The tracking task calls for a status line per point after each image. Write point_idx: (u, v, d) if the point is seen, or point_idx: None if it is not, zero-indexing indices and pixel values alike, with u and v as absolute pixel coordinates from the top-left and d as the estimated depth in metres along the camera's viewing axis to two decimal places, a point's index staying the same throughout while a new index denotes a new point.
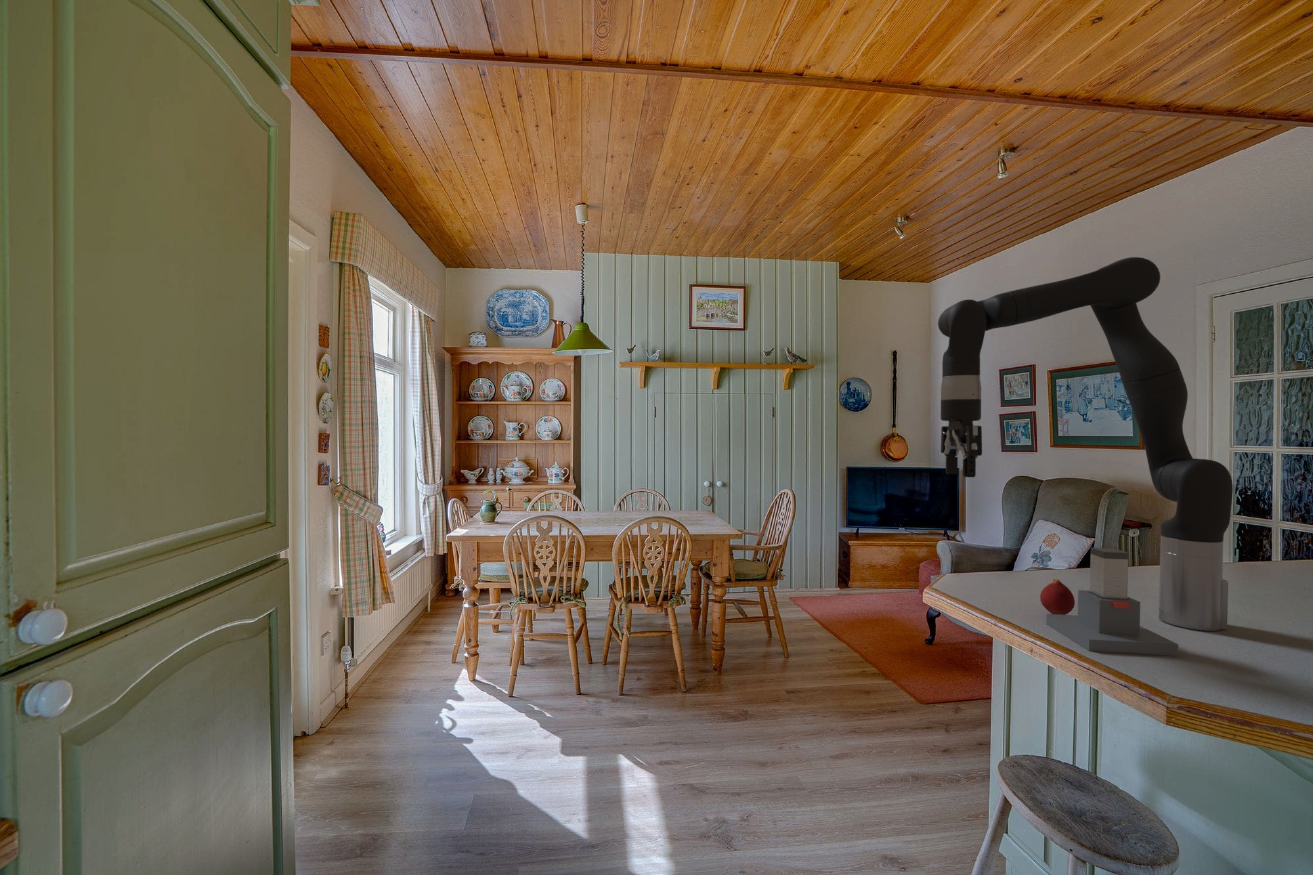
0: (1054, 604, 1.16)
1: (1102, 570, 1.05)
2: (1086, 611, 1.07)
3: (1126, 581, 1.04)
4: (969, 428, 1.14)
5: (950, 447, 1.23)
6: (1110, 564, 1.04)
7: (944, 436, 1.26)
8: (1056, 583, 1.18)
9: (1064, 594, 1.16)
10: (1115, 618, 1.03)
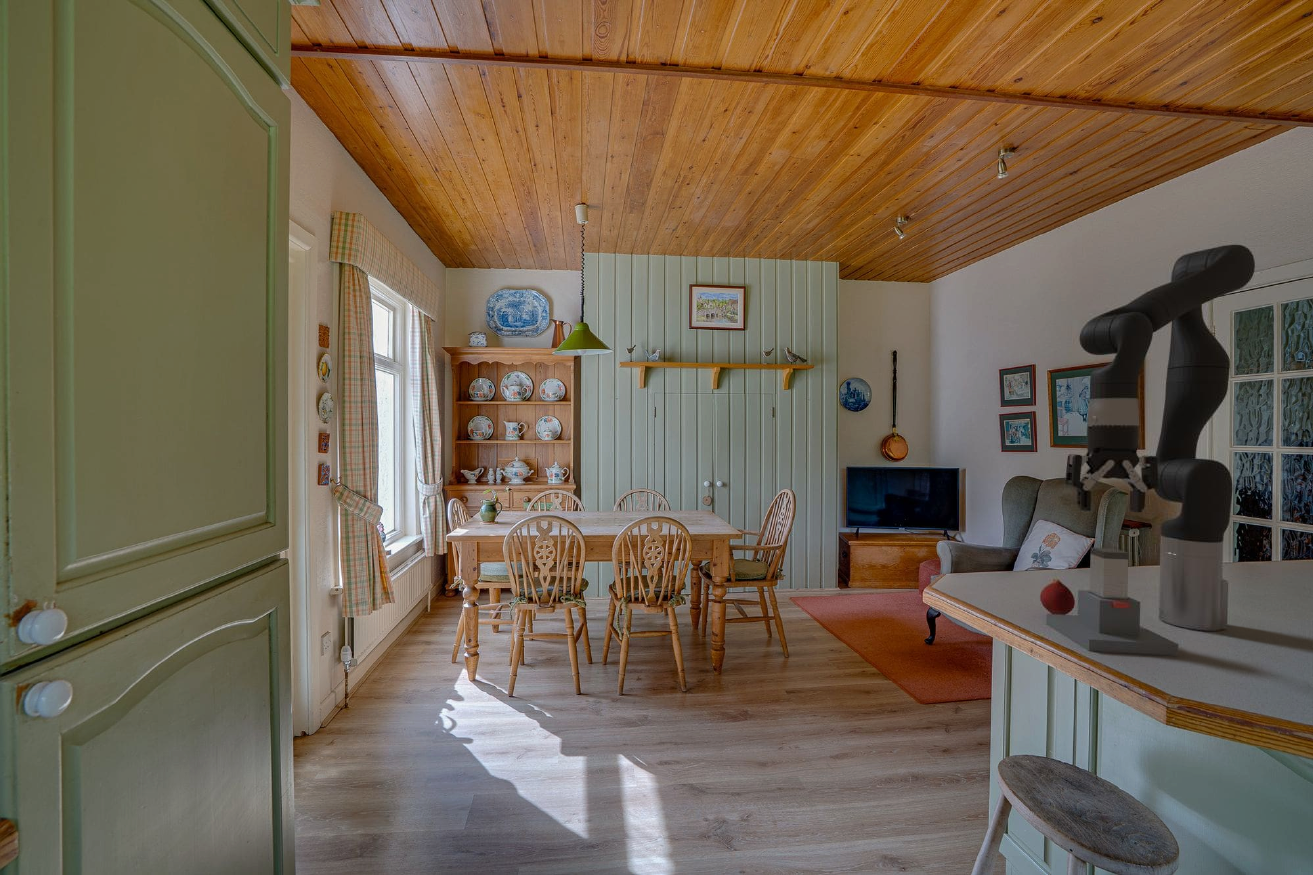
0: (1054, 604, 1.16)
1: (1102, 570, 1.05)
2: (1086, 611, 1.07)
3: (1126, 581, 1.04)
4: (1156, 459, 1.04)
5: None
6: (1110, 564, 1.04)
7: None
8: (1056, 583, 1.18)
9: (1064, 594, 1.16)
10: (1115, 618, 1.03)
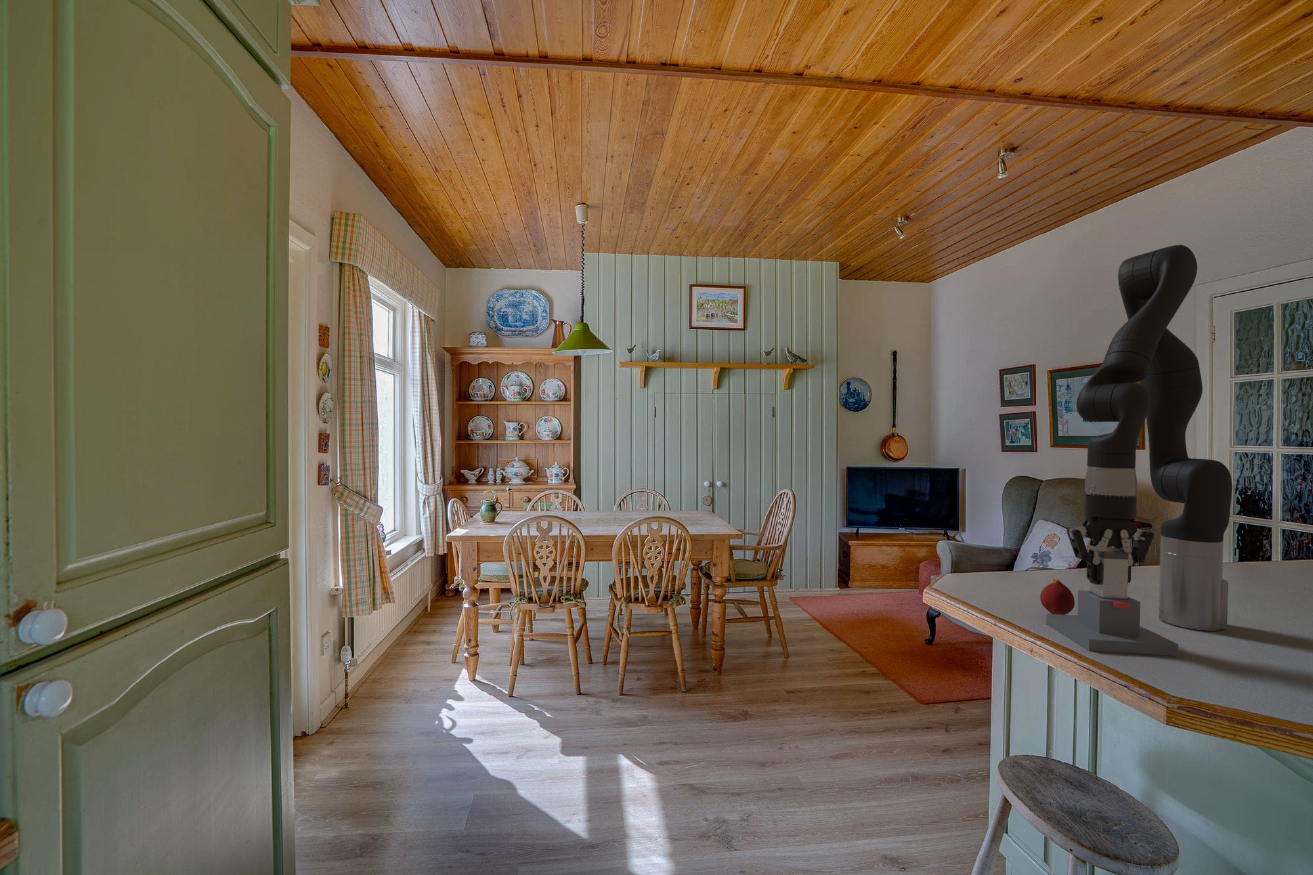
0: (1054, 604, 1.16)
1: (1102, 571, 1.05)
2: (1086, 611, 1.07)
3: (1126, 581, 1.04)
4: (1152, 535, 1.04)
5: None
6: (1110, 564, 1.04)
7: None
8: (1056, 583, 1.18)
9: (1064, 594, 1.16)
10: (1115, 618, 1.03)
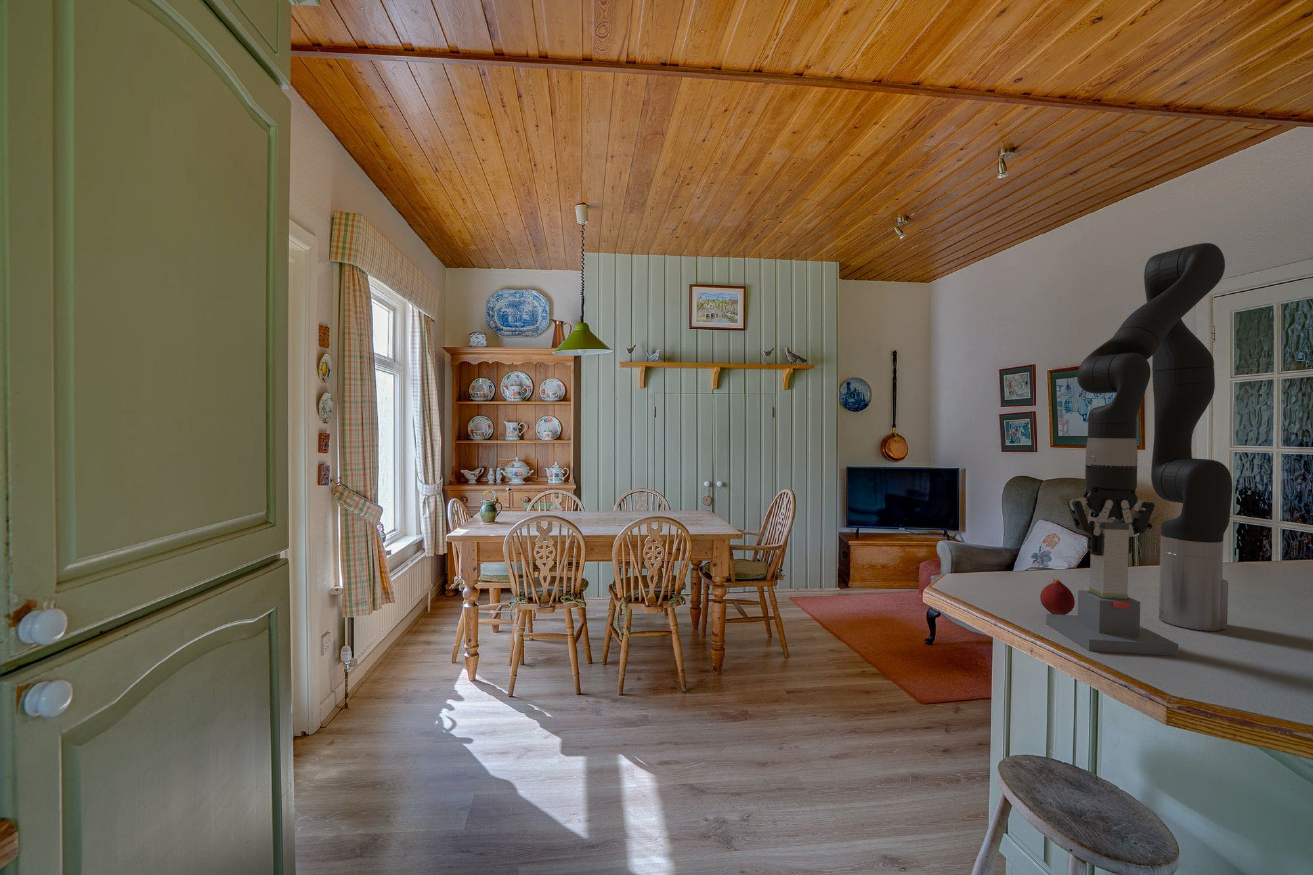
0: (1054, 604, 1.16)
1: (1103, 541, 1.05)
2: (1086, 611, 1.07)
3: (1127, 552, 1.04)
4: (1153, 506, 1.04)
5: None
6: (1110, 535, 1.04)
7: None
8: (1056, 583, 1.18)
9: (1064, 594, 1.16)
10: (1115, 618, 1.03)
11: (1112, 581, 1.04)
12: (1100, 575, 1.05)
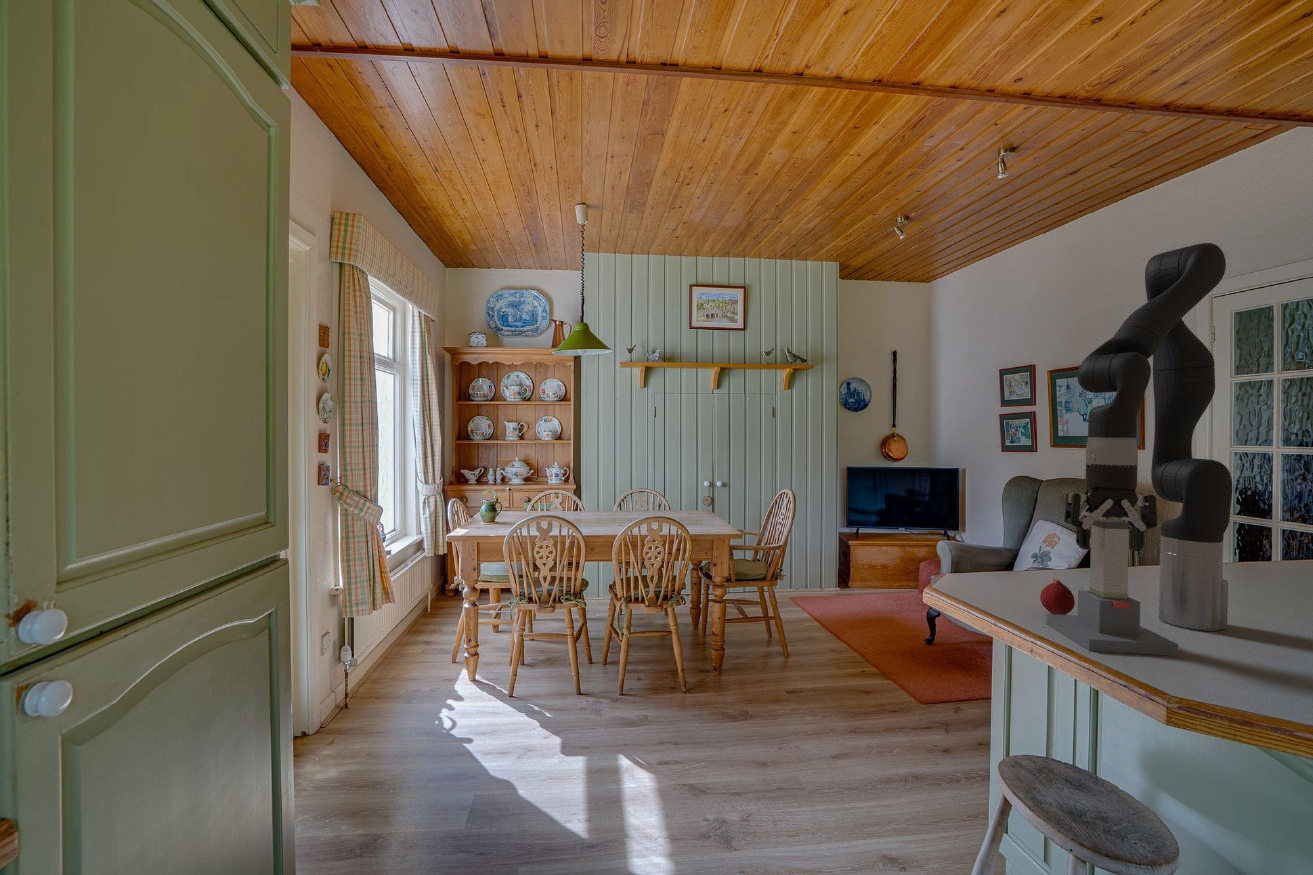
0: (1054, 604, 1.16)
1: (1103, 541, 1.05)
2: (1086, 611, 1.07)
3: (1127, 551, 1.04)
4: (1154, 498, 1.04)
5: None
6: (1110, 534, 1.04)
7: None
8: (1056, 583, 1.18)
9: (1064, 594, 1.16)
10: (1115, 618, 1.03)
11: (1112, 581, 1.04)
12: (1100, 575, 1.05)
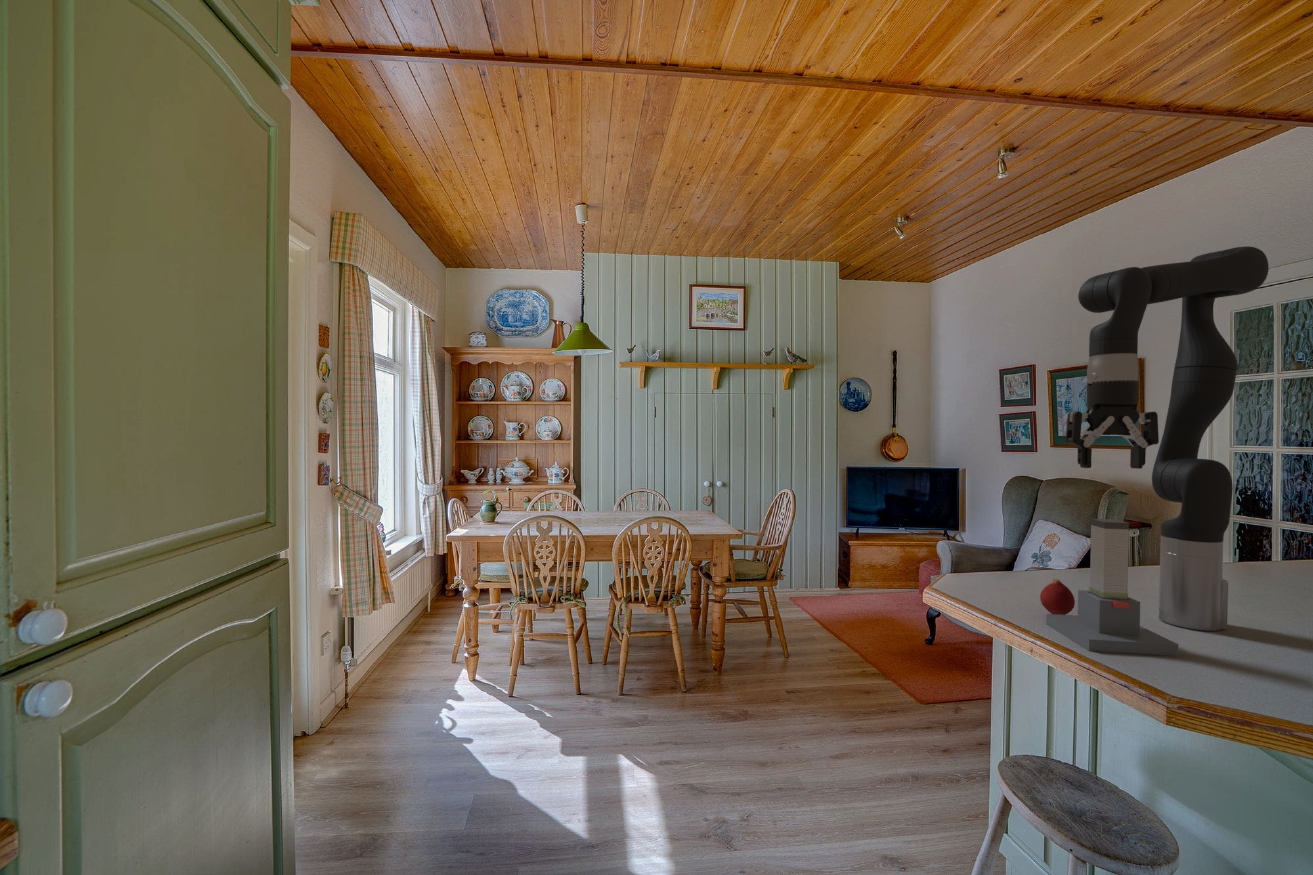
0: (1054, 604, 1.16)
1: (1103, 541, 1.05)
2: (1086, 611, 1.07)
3: (1127, 551, 1.04)
4: (1156, 414, 1.04)
5: None
6: (1110, 534, 1.04)
7: None
8: (1056, 583, 1.18)
9: (1064, 594, 1.16)
10: (1115, 618, 1.03)
11: (1112, 581, 1.04)
12: (1100, 575, 1.05)
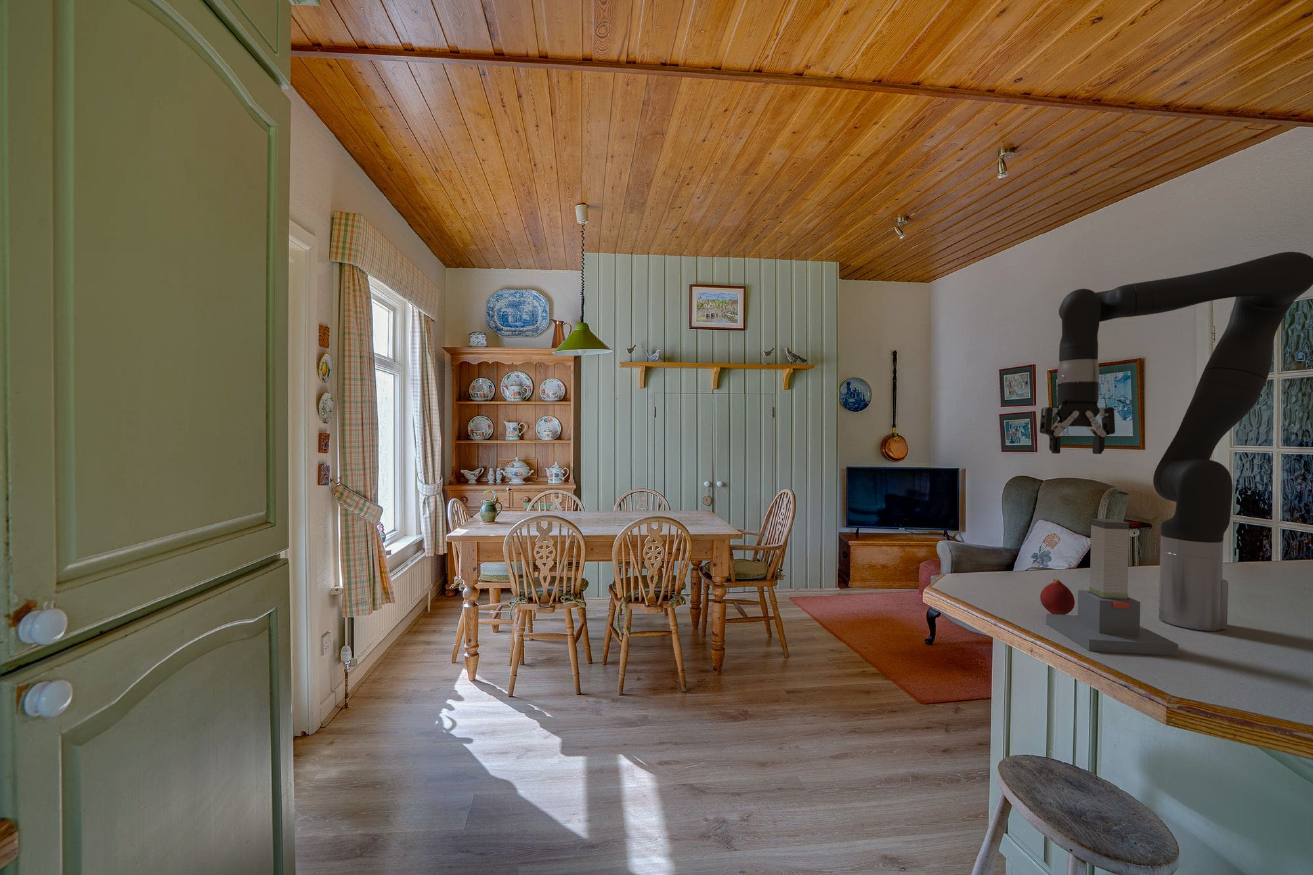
0: (1054, 604, 1.16)
1: (1103, 541, 1.05)
2: (1086, 611, 1.07)
3: (1127, 551, 1.04)
4: None
5: None
6: (1110, 534, 1.04)
7: None
8: (1056, 583, 1.18)
9: (1065, 594, 1.16)
10: (1115, 618, 1.03)
11: (1112, 581, 1.04)
12: (1100, 575, 1.05)
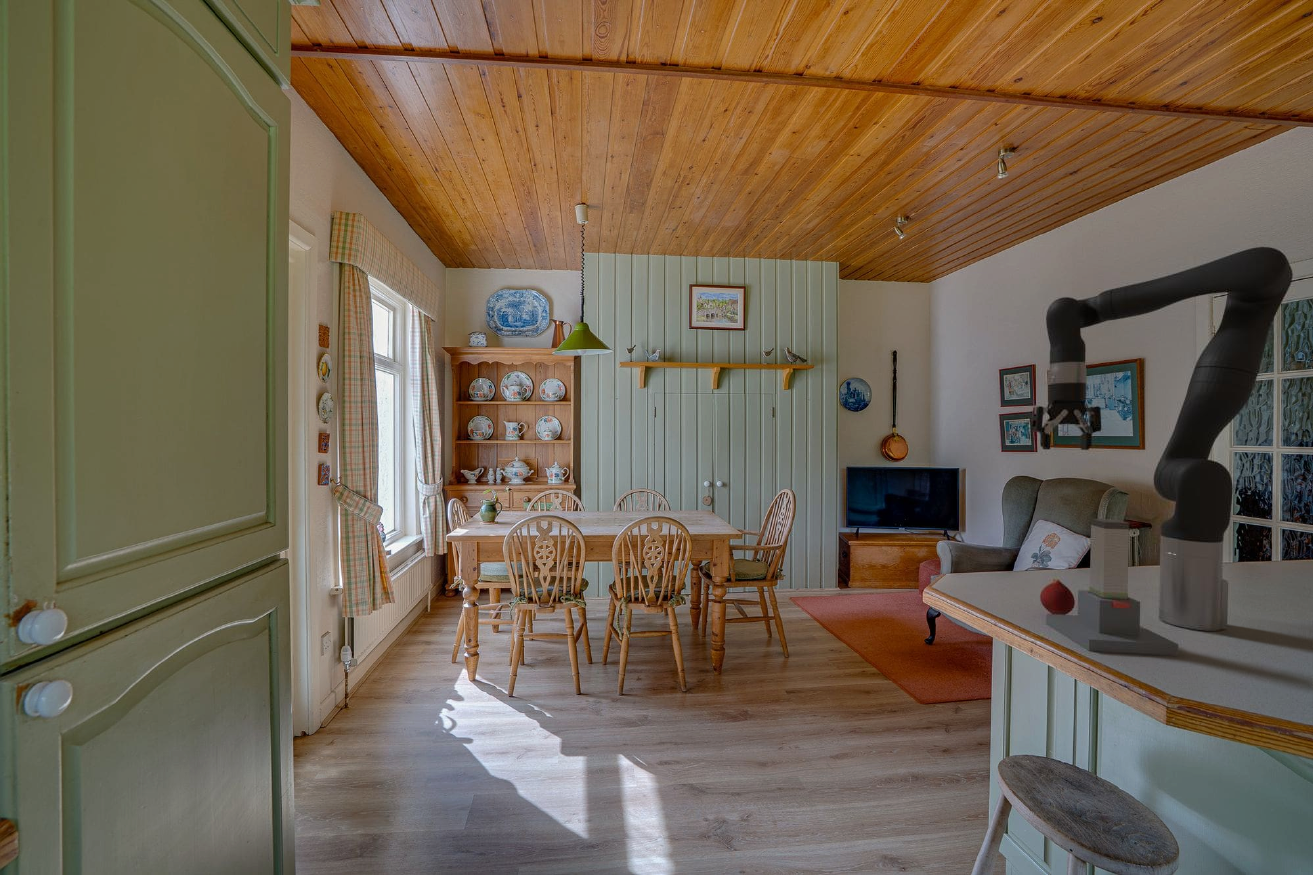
0: (1054, 604, 1.16)
1: (1103, 541, 1.05)
2: (1086, 611, 1.07)
3: (1127, 551, 1.04)
4: (1099, 408, 1.36)
5: None
6: (1110, 534, 1.04)
7: None
8: (1056, 583, 1.18)
9: (1064, 594, 1.16)
10: (1115, 618, 1.03)
11: (1112, 581, 1.04)
12: (1100, 575, 1.05)
